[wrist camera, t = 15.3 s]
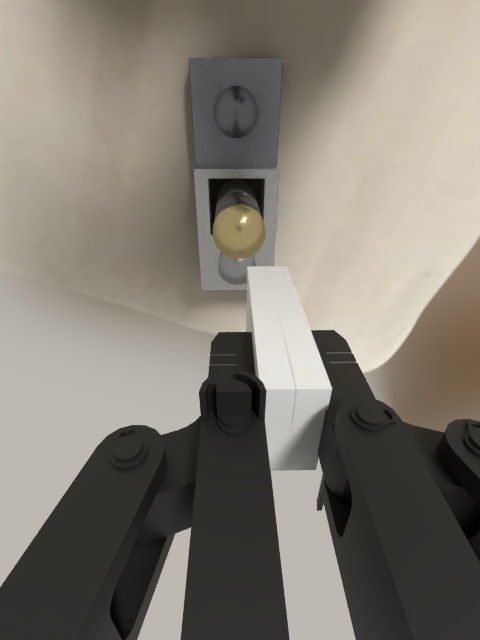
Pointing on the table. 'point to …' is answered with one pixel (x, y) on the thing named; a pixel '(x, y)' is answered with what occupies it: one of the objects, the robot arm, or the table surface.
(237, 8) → the table surface
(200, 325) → the table surface
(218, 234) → the pin
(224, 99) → the metal block with stud
